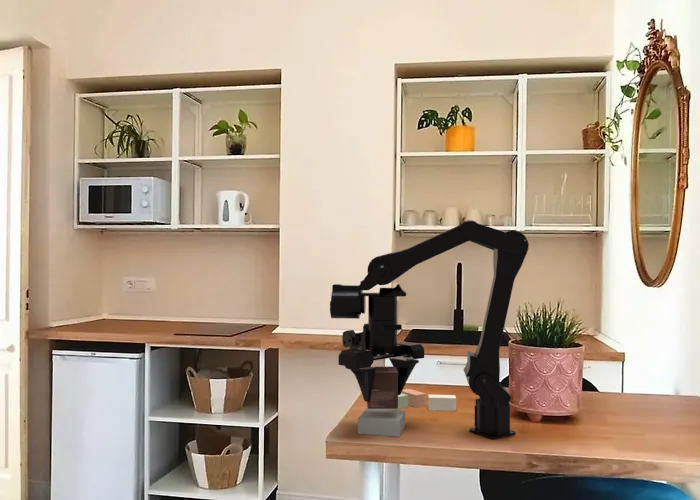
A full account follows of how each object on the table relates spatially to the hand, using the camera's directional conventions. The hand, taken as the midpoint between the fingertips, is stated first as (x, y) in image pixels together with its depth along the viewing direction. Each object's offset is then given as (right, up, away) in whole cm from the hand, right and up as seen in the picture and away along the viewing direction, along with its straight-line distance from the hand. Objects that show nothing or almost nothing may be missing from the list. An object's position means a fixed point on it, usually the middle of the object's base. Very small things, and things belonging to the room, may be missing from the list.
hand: (382, 398), depth 124 cm
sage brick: (+3, -7, +17) cm, 19 cm away
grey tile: (0, -6, 0) cm, 6 cm away
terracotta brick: (+8, -7, +21) cm, 24 cm away
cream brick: (+14, -7, +17) cm, 23 cm away
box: (0, -2, 0) cm, 2 cm away
